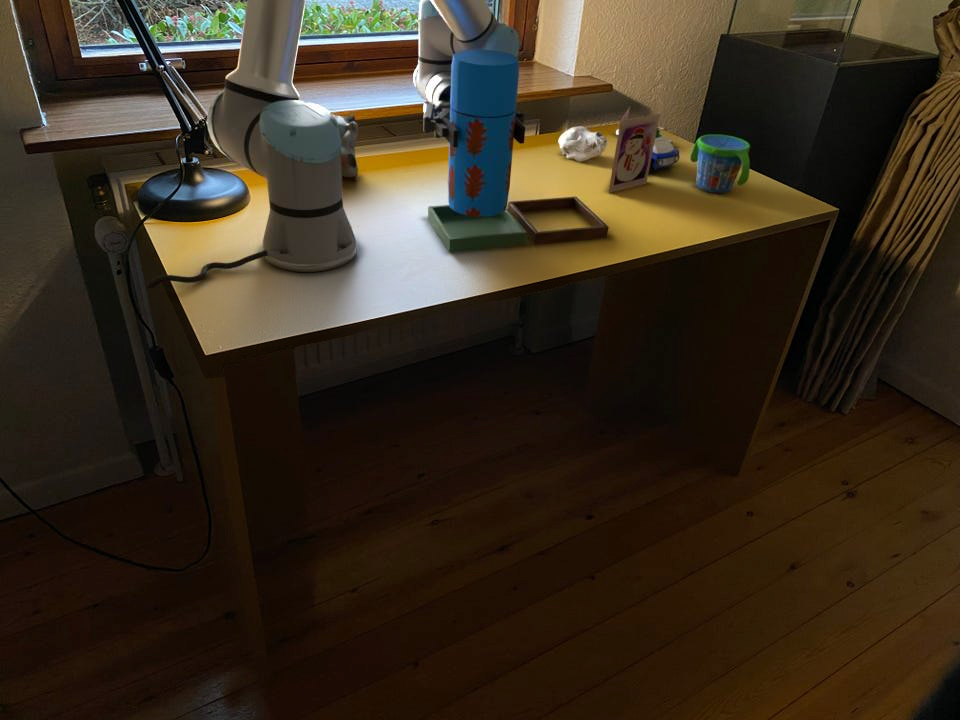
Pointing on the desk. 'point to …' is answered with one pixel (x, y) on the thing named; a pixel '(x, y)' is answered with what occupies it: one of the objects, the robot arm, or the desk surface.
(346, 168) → the lucky cat figurine
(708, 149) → the snack cup
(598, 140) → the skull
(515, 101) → the thermos
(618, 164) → the greeting card
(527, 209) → the walnut frame
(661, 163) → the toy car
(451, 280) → the desk surface
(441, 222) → the sage tray
